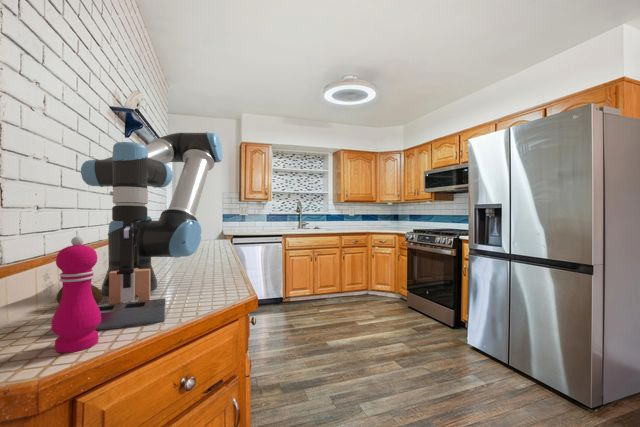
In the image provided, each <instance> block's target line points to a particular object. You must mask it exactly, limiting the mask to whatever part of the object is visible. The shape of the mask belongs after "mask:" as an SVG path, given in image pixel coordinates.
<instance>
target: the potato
mask: <svg viewBox="0 0 640 427" xmlns="http://www.w3.org/2000/svg"><path fill="white" fill-rule="evenodd" d="M91 289H92V294H93V297H94V299H95V301H96V303H97V304H99V303H100V302H101V301H102V300H103V294H102V291H101V290H100V289H99V287H97V286H95V285H94V284H91ZM62 293H63V286H62V287H61V288H60V289H59V291H58V292H57V294H56V302H57V303H58V305H59V304H60V301H61V298H62Z"/></svg>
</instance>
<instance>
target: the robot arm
mask: <svg viewBox="0 0 640 427" xmlns="http://www.w3.org/2000/svg"><path fill="white" fill-rule="evenodd" d="M221 143H222V142H221V140H220V137H219V135H218V134H217V133H215V132H208V131H206V132H175V133H170V134H167V135H164V136H161V137H158V138H154V139H152V140H151V141H150V142H149V143H148V144H146V145H144V144H142V143H138V142H133V141H132V142H131V141H120V142H116V143H115V144H113V147H112V154H111V157H107V158H104V159H103V158H102V159H98V158H97V159H96V158H95V159H88V160H85V161H84V162H83V163H82V165H81V168H80V175H81V177H82V178H81V179H82V181H83V182H84V183H85V184H86V185H88V186H89V187H100V188H103V187H108V188H109V187H112V191H110V192H109V195H110V196H112V203H113V206H112V208H111V210H112V211H111V219H112V220H111V221H110V223H109V224H108V233H107V236H108V237H107V238H108V240H107V242H108V244H107V245H108V251H107V252H108V256H107V257H108V269H107V271H106V274H105V276H104V279H103V282H102V284H101V294H102V296H103V295H104V296H109V273H110V272H111V271H117V274H121V301H120V302H123V303H125V302H135V296H134V273H133V272H134V270H136V269H150V292H151V291H154V290H156V289H158V280H157V277H156V273H155V271H154V268H153V265H152V258H181V257H184V258H185V257H190V256H191V255H193V254H195V253H196V251H197V250H198V248H199V245H200V243H201V240H202V227H201V224H200V223H199V220H198V218H197V217H196V213H197V210H198V208H199V204H200V200H201V197H202V192H203V189H204V187H205V184H206V178H207V175H208V174H209V172H210V171H211V170H212V169H213V168H214V166H215V163H217V164H218V163H221V162H222V160H223V150H222V149H223V148H222V144H221ZM169 163H184V165H183V168H182V170H181V173H180V175H179V179H178V180H177V185H176V187H175V189H174V191H173V195H172V198H171V200H170V204H169V205H168V208H167V209H164V210H163V211H162V212H161V214H160V217H159V218H158V220H152V217H151V216H150V215H149V216H148V207H147V206H146V205H147V204H148V200H149V199H148V197H149V196H148V195H149V194H148V193H149V191H148V190H149V189H148V187H152V188H156V189H157V188H158V189H160V188H161V189H162V188H165V187H167V186H168V185H170V183H171V182H172V180H173V171H172V169H171V167H170V166H169V165H168V164H169ZM155 288H156V289H155ZM153 289H154V290H153Z"/></svg>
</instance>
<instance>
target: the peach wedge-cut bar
mask: <svg viewBox="0 0 640 427" xmlns="http://www.w3.org/2000/svg"><path fill="white" fill-rule="evenodd" d="M133 273H134V297H136V296H137V301H145V300H151V291H150V269H136V270H134V272H133ZM108 300H109V301H108V302H109V303H108V304H116V303H124V302H120V301H121V274H117V271H111V272H110V273H109V295H108Z"/></svg>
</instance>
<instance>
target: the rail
mask: <svg viewBox="0 0 640 427" xmlns="http://www.w3.org/2000/svg"><path fill="white" fill-rule="evenodd" d="M97 305H98V304H97ZM98 307H99V309H100V312H101V323H100V324H99V325H98V327H97V328H96V329H95V331H104V330H110V329H117V328H118V329H119V328H126V327H132V326H141V325H148V324H156V323H164V322H165V320H166V298H165V297H164V298H155V299H154V298H153V299H150V300H145V301H138V300H136V301H135V300H134V301H127V302H123V303H116V304H109V303H108V304H106V303H105V304H99V305H98Z"/></svg>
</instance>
